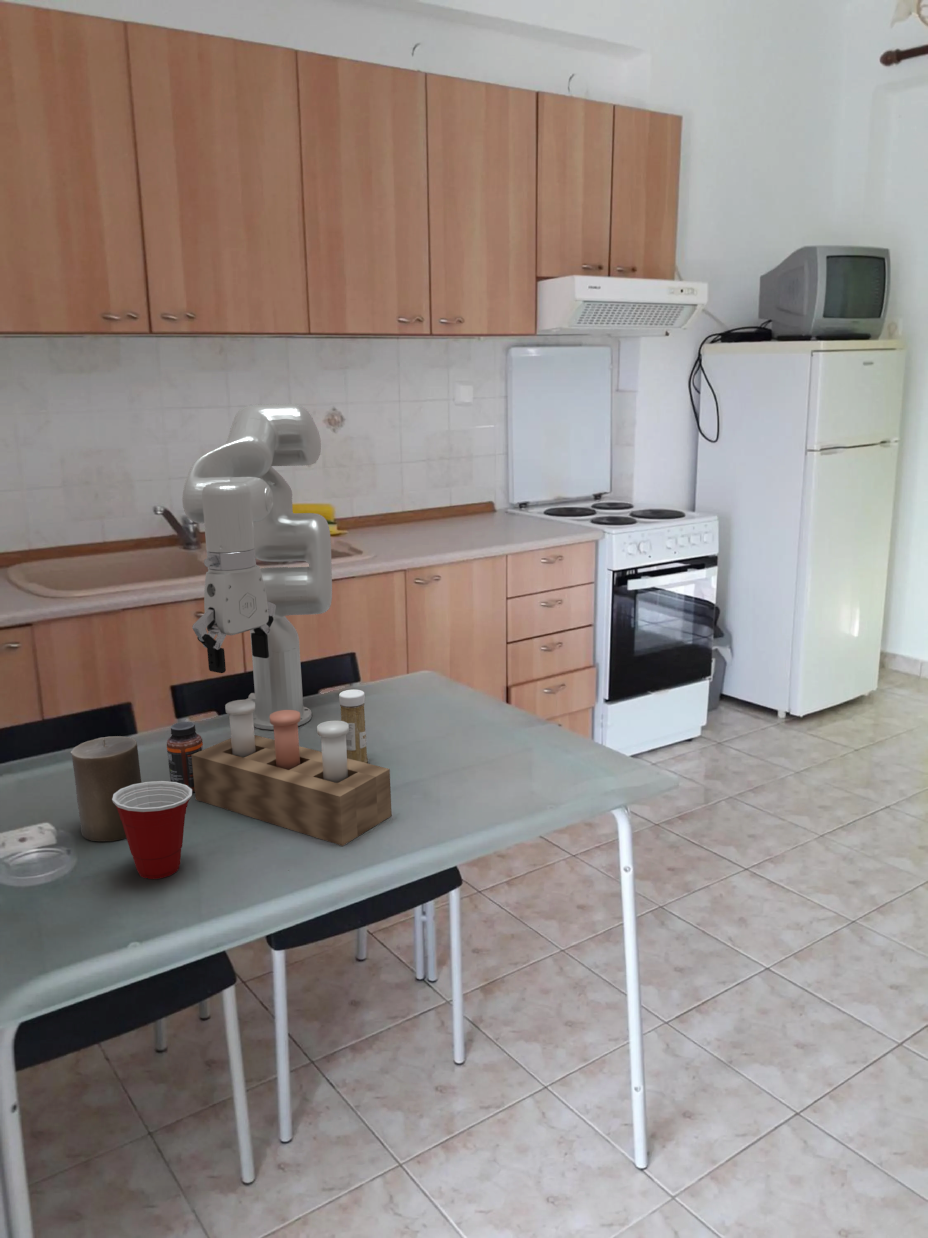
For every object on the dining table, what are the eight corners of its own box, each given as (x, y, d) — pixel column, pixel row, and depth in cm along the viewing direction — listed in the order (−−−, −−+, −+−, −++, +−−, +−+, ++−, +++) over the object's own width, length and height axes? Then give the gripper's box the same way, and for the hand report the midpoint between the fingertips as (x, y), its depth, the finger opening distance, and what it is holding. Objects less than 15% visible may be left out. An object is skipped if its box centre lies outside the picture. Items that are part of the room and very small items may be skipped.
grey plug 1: (223, 763, 163) (219, 706, 161) (244, 753, 167) (240, 698, 165) (244, 769, 161) (239, 711, 158) (265, 759, 164) (261, 702, 162)
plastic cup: (214, 866, 141) (207, 789, 138) (147, 896, 133) (138, 815, 130) (173, 844, 148) (165, 770, 145) (106, 871, 140) (97, 794, 138)
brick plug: (267, 775, 158) (263, 716, 155) (288, 765, 162) (284, 708, 159) (289, 781, 155) (285, 722, 153) (310, 771, 159) (306, 713, 157)
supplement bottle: (213, 782, 171) (207, 720, 168) (195, 795, 165) (189, 732, 162) (182, 778, 172) (177, 718, 170) (164, 792, 167) (157, 730, 164)
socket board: (195, 799, 164) (191, 754, 162) (247, 775, 173) (244, 732, 171) (342, 846, 146) (340, 796, 145) (391, 815, 156) (389, 769, 154)
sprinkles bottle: (372, 764, 177) (369, 693, 174) (349, 770, 175) (346, 698, 171) (360, 756, 181) (357, 686, 177) (338, 762, 178) (334, 691, 175)
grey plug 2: (314, 788, 152) (310, 727, 150) (334, 777, 156) (331, 718, 154) (337, 795, 150) (334, 733, 147) (357, 784, 154) (354, 724, 151)
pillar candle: (152, 832, 152) (142, 741, 149) (86, 848, 147) (74, 754, 144) (139, 810, 160) (129, 723, 157) (76, 824, 156) (65, 735, 152)
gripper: (207, 571, 147) (216, 681, 151) (286, 554, 161) (293, 654, 165) (172, 567, 151) (182, 674, 155) (253, 550, 165) (260, 649, 169)
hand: (239, 664), depth 160 cm, fingers open, 9 cm apart
